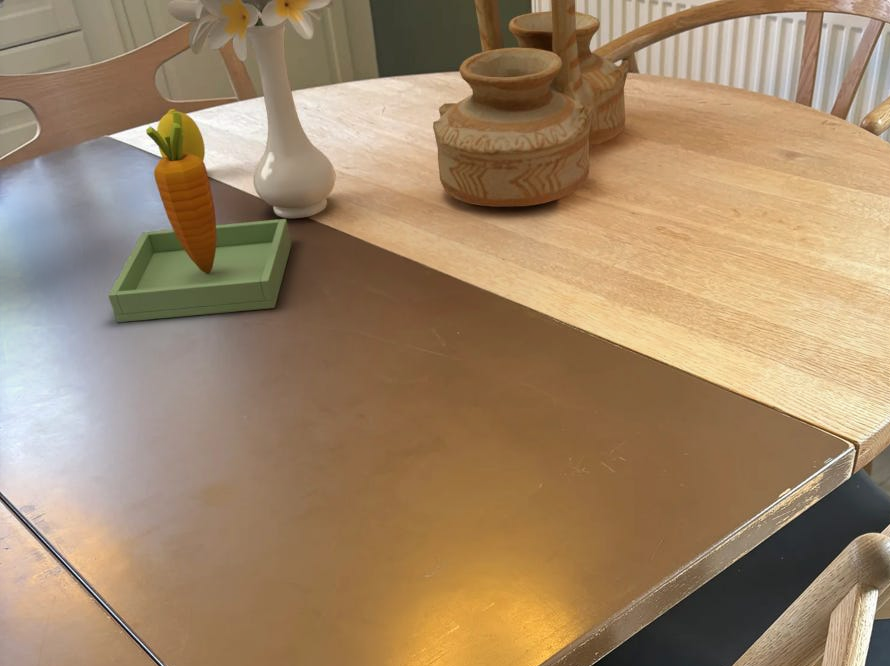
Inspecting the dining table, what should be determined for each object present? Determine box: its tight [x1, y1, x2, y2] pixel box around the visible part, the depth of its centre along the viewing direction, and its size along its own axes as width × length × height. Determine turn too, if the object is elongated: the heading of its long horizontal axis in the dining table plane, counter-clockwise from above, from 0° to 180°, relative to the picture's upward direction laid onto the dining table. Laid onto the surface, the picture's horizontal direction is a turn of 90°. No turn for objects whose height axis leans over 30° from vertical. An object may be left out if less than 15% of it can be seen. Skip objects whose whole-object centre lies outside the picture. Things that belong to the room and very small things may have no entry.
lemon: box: [156, 108, 206, 161], centre depth 126 cm, size 6×6×8 cm
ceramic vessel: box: [432, 0, 630, 207], centre depth 114 cm, size 34×18×25 cm, turn 162°
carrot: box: [145, 111, 217, 274], centre depth 99 cm, size 5×5×15 cm
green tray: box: [108, 218, 292, 323], centre depth 104 cm, size 16×16×3 cm
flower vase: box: [167, 0, 337, 220], centre depth 109 cm, size 13×18×25 cm
